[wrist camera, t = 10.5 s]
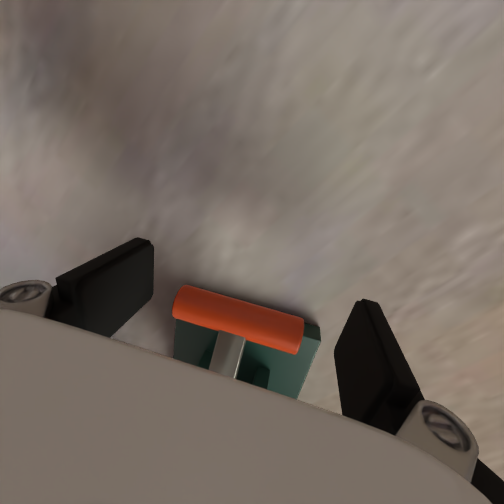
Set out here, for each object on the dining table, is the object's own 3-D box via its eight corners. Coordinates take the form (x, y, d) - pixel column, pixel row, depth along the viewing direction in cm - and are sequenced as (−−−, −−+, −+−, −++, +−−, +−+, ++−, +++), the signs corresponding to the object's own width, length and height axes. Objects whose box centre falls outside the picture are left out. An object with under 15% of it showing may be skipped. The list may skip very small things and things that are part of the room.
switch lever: (193, 282, 11) (171, 286, 9) (301, 312, 11) (308, 326, 8) (117, 559, 11) (72, 642, 8) (225, 606, 10) (209, 711, 8)
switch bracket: (186, 287, 17) (-48, 547, 6) (320, 326, 16) (358, 744, 5) (176, 393, 22) (38, 649, 11) (279, 428, 21) (249, 758, 10)
